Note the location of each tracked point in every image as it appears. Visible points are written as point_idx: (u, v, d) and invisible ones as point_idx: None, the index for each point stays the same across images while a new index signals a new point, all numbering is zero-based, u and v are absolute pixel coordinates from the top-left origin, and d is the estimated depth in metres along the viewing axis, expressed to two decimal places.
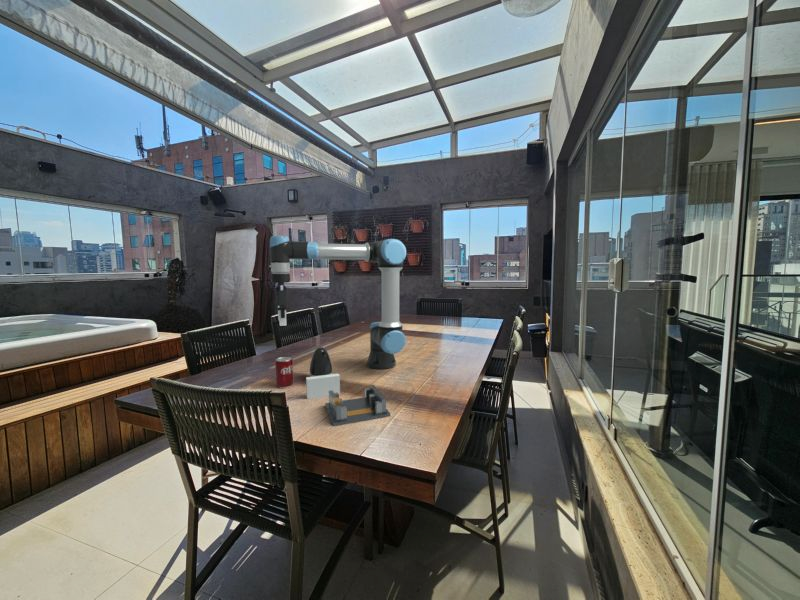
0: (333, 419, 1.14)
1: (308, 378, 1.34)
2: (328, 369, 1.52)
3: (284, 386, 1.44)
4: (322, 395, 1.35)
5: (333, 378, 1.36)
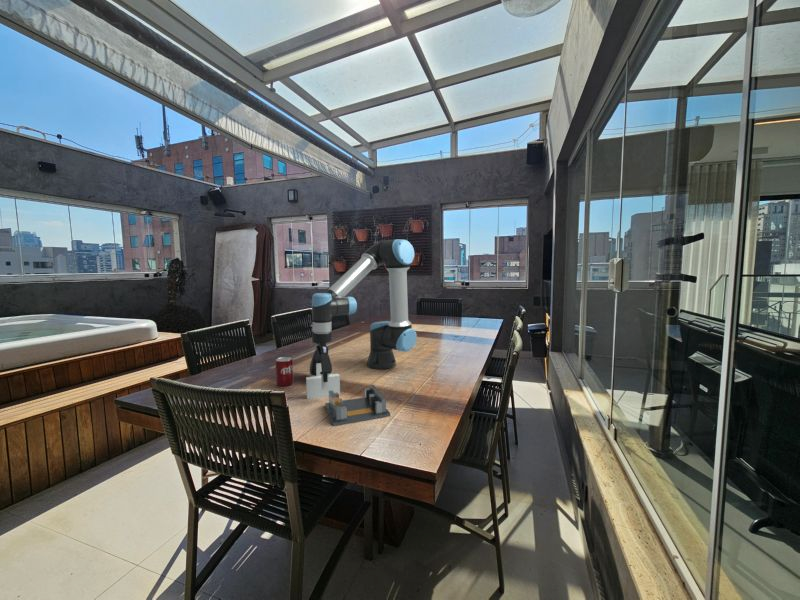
0: (333, 419, 1.14)
1: (308, 378, 1.34)
2: None
3: (284, 386, 1.44)
4: (322, 395, 1.35)
5: (333, 378, 1.36)
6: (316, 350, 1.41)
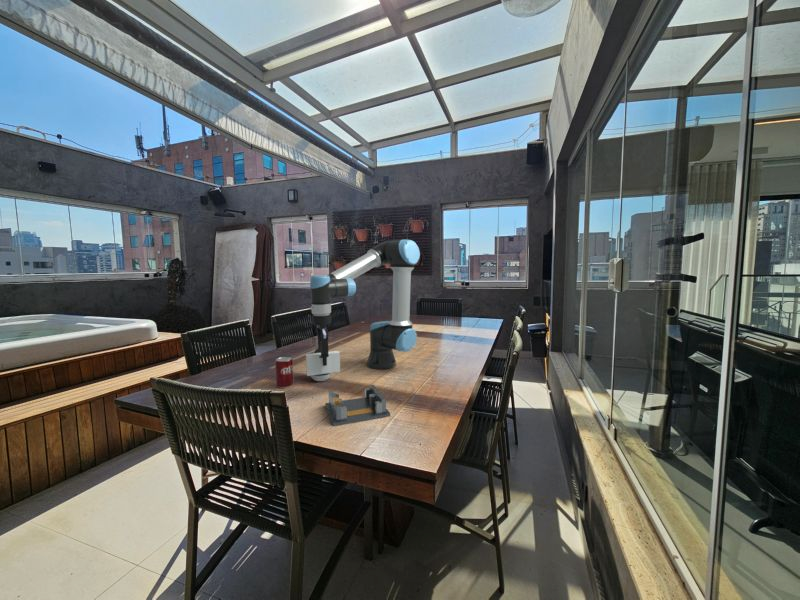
0: (333, 419, 1.14)
1: (308, 355, 1.33)
2: None
3: (284, 386, 1.44)
4: None
5: (334, 355, 1.35)
6: None
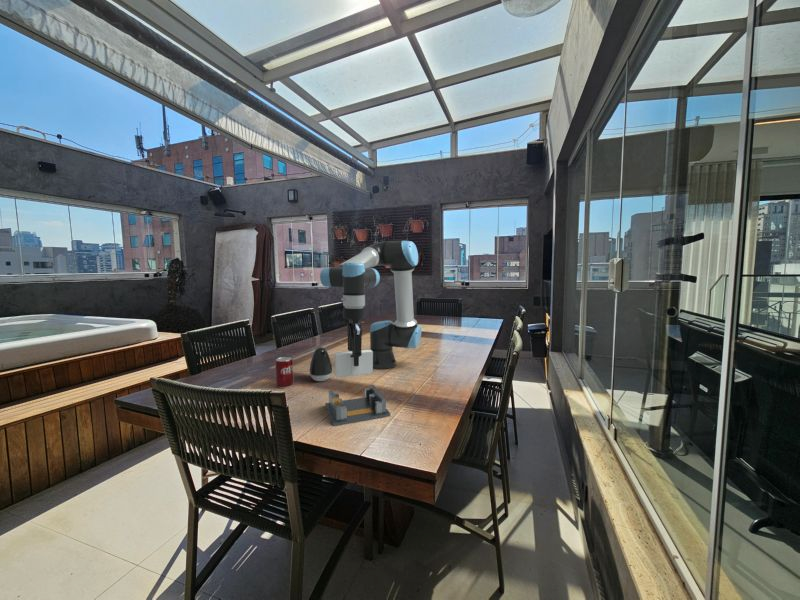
0: (333, 419, 1.14)
1: (337, 353, 1.16)
2: (328, 369, 1.52)
3: (284, 386, 1.44)
4: None
5: (366, 354, 1.18)
6: (347, 335, 1.22)
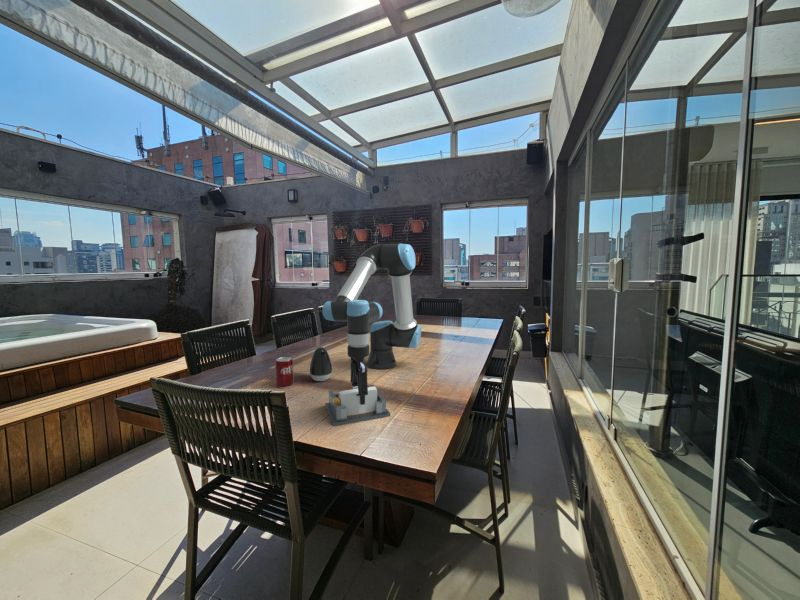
0: (333, 419, 1.14)
1: (342, 392, 1.16)
2: (328, 369, 1.52)
3: (284, 386, 1.44)
4: (357, 412, 1.17)
5: (370, 392, 1.18)
6: (351, 369, 1.23)
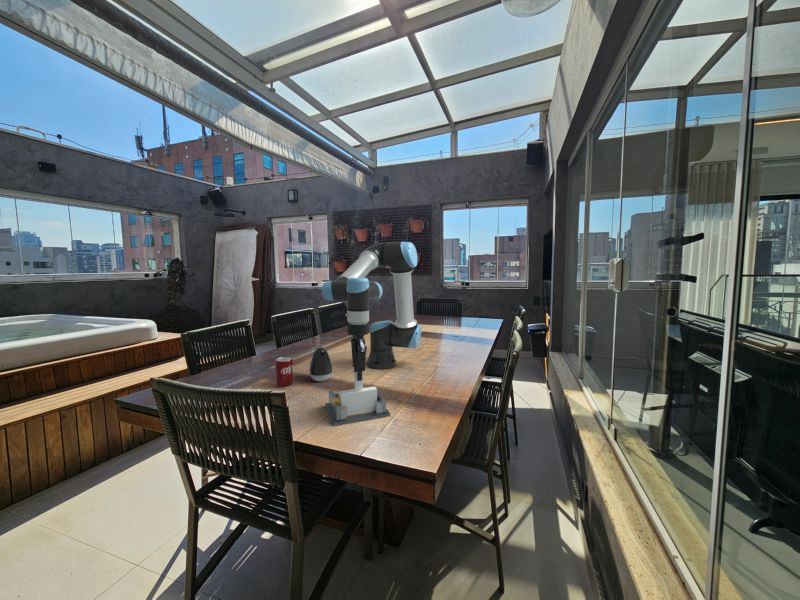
0: (333, 419, 1.14)
1: (342, 392, 1.16)
2: (328, 369, 1.52)
3: (284, 386, 1.44)
4: (357, 412, 1.17)
5: (370, 392, 1.19)
6: (352, 351, 1.20)
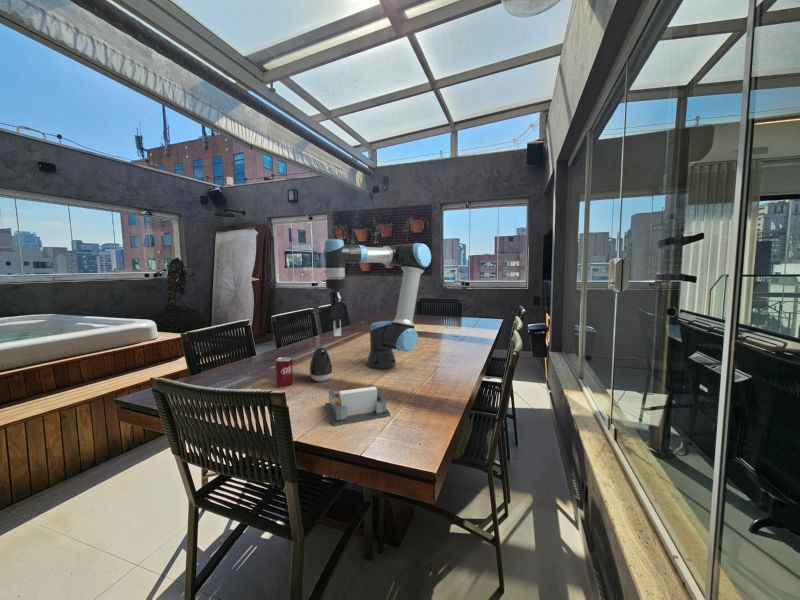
0: (333, 419, 1.14)
1: (342, 392, 1.16)
2: (328, 369, 1.52)
3: (284, 386, 1.44)
4: (357, 412, 1.17)
5: (370, 392, 1.19)
6: (331, 304, 1.40)
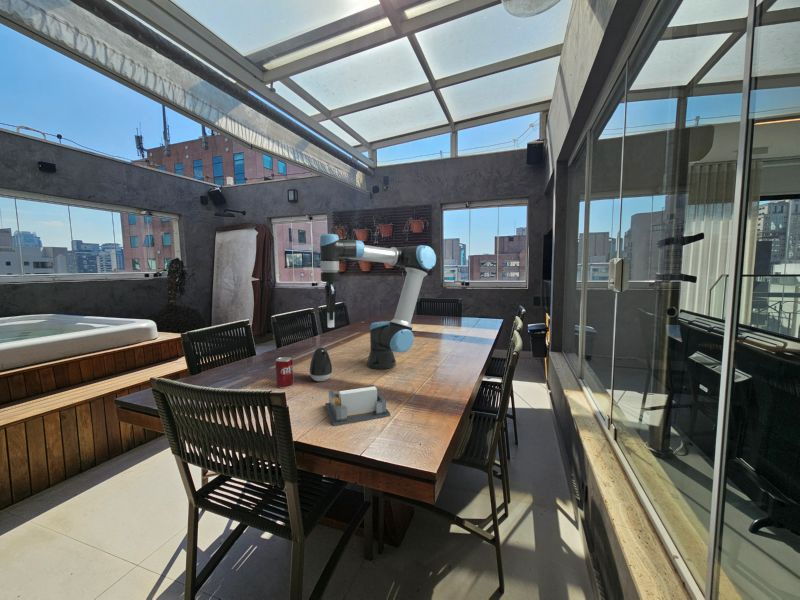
0: (333, 419, 1.14)
1: (342, 392, 1.16)
2: (328, 369, 1.52)
3: (284, 386, 1.44)
4: (357, 412, 1.17)
5: (370, 392, 1.19)
6: None
